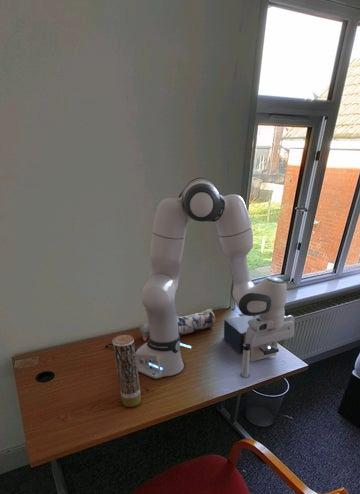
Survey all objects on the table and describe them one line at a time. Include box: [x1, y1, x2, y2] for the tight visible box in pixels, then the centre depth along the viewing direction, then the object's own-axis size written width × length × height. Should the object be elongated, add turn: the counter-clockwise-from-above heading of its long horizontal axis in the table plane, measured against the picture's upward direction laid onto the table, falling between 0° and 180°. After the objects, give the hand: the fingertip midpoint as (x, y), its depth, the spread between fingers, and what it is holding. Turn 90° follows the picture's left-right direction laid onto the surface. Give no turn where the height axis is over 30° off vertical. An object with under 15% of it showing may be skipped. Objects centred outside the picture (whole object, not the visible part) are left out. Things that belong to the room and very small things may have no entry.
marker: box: [241, 343, 250, 378], centre depth 134 cm, size 3×3×14 cm
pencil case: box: [177, 308, 216, 337], centre depth 169 cm, size 22×8×10 cm, turn 117°
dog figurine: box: [139, 322, 150, 341], centre depth 165 cm, size 5×13×11 cm, turn 92°
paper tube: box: [112, 334, 142, 408], centre depth 120 cm, size 7×7×25 cm
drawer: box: [242, 334, 280, 362], centre depth 147 cm, size 19×12×8 cm, turn 21°
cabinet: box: [223, 314, 254, 355], centre depth 157 cm, size 15×13×10 cm
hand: (268, 351), depth 141 cm, fingers closed
